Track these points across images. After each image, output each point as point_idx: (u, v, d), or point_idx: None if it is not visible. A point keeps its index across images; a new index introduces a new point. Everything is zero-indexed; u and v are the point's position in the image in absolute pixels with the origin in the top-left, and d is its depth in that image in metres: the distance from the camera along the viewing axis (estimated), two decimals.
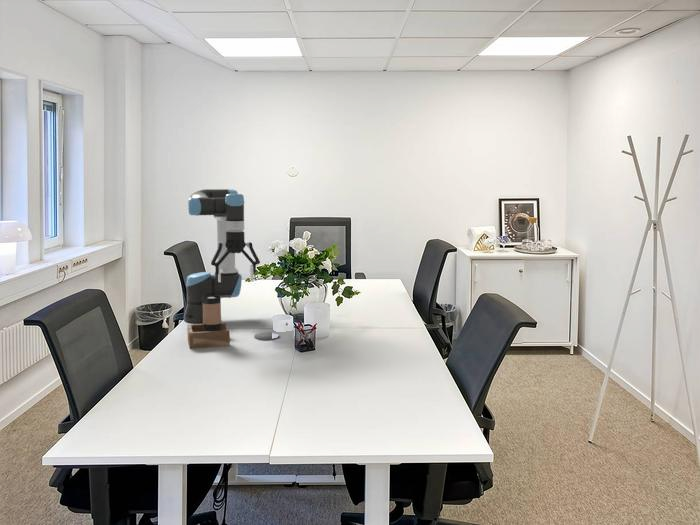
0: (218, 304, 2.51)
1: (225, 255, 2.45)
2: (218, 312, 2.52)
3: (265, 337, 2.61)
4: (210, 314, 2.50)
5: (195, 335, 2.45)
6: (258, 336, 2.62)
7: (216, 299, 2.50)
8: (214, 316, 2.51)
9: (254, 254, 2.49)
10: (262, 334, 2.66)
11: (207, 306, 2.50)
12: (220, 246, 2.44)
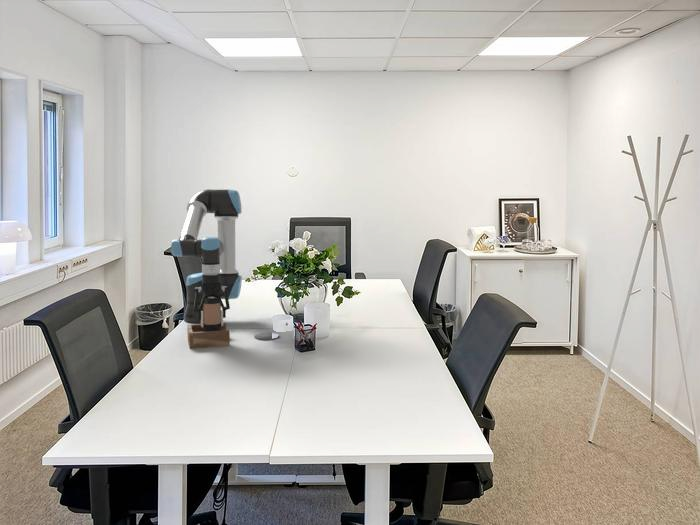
0: (218, 304, 2.51)
1: None
2: (218, 312, 2.52)
3: (265, 337, 2.61)
4: (210, 314, 2.50)
5: (195, 335, 2.45)
6: (258, 336, 2.62)
7: (216, 299, 2.50)
8: (214, 316, 2.51)
9: (226, 299, 2.54)
10: (262, 334, 2.66)
11: (207, 306, 2.50)
12: (197, 291, 2.49)
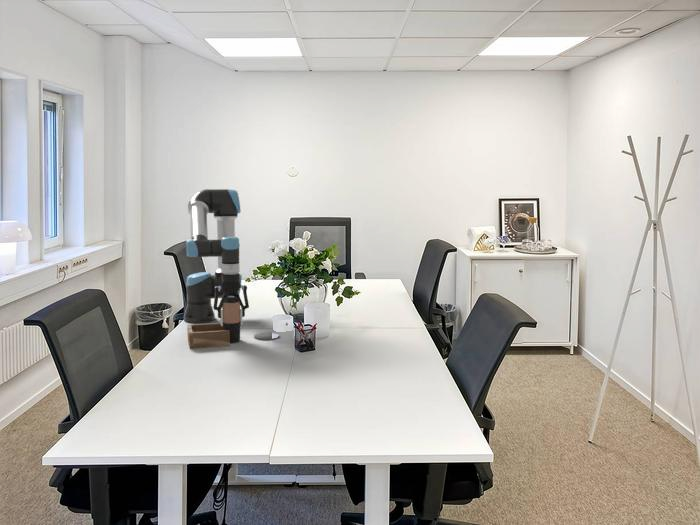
0: (237, 303, 2.54)
1: None
2: (237, 311, 2.54)
3: (265, 337, 2.61)
4: (229, 313, 2.52)
5: (195, 335, 2.45)
6: (258, 336, 2.62)
7: (235, 298, 2.53)
8: (234, 315, 2.53)
9: (246, 298, 2.56)
10: (262, 334, 2.66)
11: (226, 305, 2.52)
12: (216, 290, 2.52)
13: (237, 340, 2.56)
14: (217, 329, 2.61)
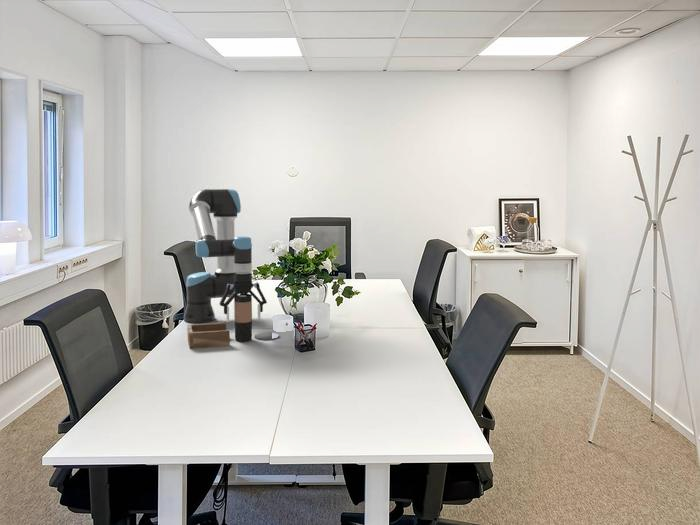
0: (249, 302, 2.55)
1: (233, 296, 2.54)
2: (249, 310, 2.56)
3: (265, 337, 2.61)
4: (241, 312, 2.54)
5: (195, 335, 2.45)
6: (258, 336, 2.62)
7: (248, 297, 2.54)
8: (246, 314, 2.55)
9: (261, 294, 2.58)
10: (262, 334, 2.66)
11: (238, 305, 2.54)
12: (228, 287, 2.53)
13: (249, 339, 2.58)
14: (217, 329, 2.61)
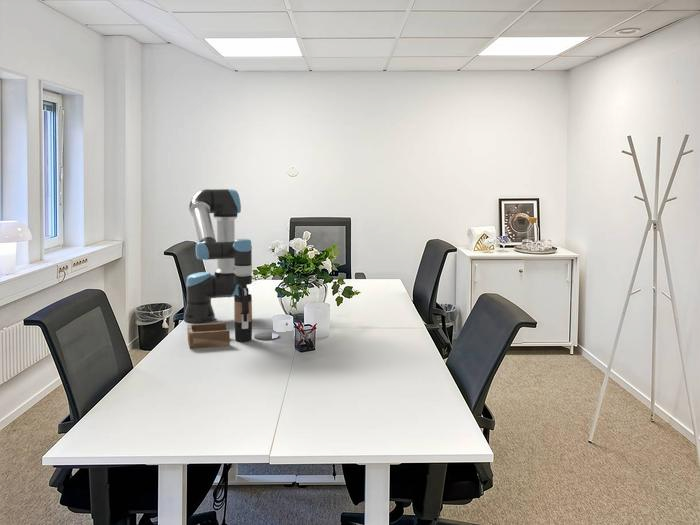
0: (249, 302, 2.55)
1: None
2: (249, 310, 2.56)
3: (265, 337, 2.61)
4: (241, 312, 2.54)
5: (195, 335, 2.45)
6: (258, 336, 2.62)
7: (248, 297, 2.54)
8: None
9: (242, 303, 2.51)
10: (262, 334, 2.66)
11: (238, 305, 2.54)
12: (238, 288, 2.62)
13: (249, 339, 2.58)
14: (217, 329, 2.61)
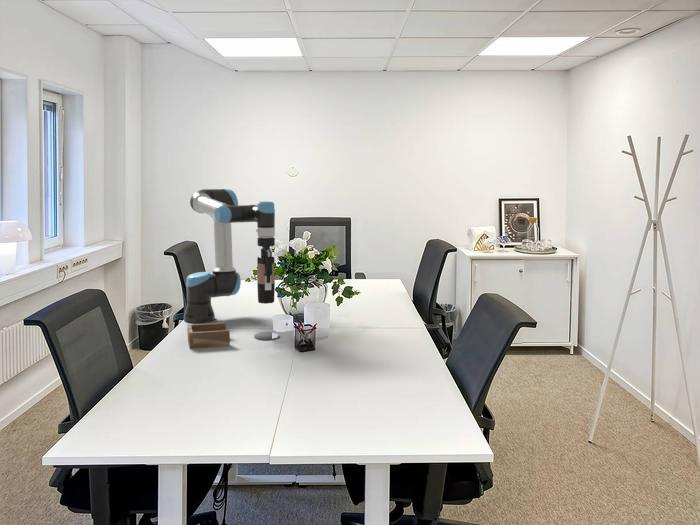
0: (272, 264, 2.58)
1: None
2: (272, 272, 2.59)
3: (265, 337, 2.61)
4: None
5: (195, 335, 2.45)
6: (258, 336, 2.62)
7: None
8: None
9: (266, 264, 2.54)
10: (262, 334, 2.66)
11: (262, 266, 2.57)
12: None
13: (272, 301, 2.60)
14: (217, 329, 2.61)
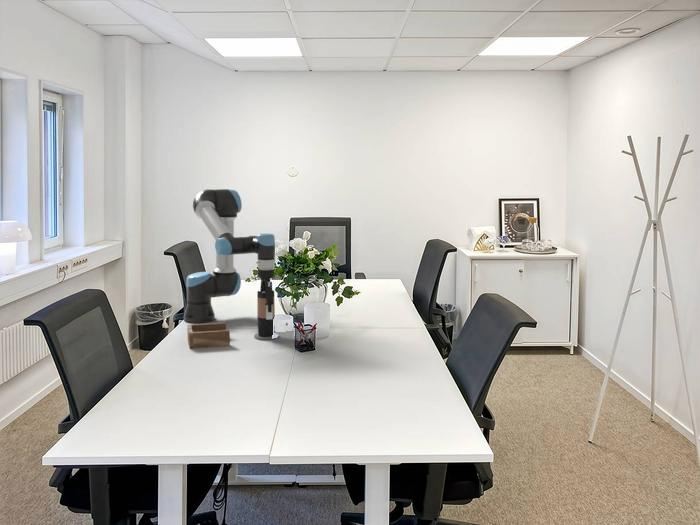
0: None
1: (262, 289, 2.66)
2: None
3: (265, 337, 2.61)
4: (265, 308, 2.59)
5: (195, 335, 2.45)
6: (258, 336, 2.62)
7: None
8: None
9: (266, 294, 2.54)
10: None
11: (262, 301, 2.59)
12: (261, 280, 2.67)
13: (272, 334, 2.63)
14: (217, 329, 2.61)
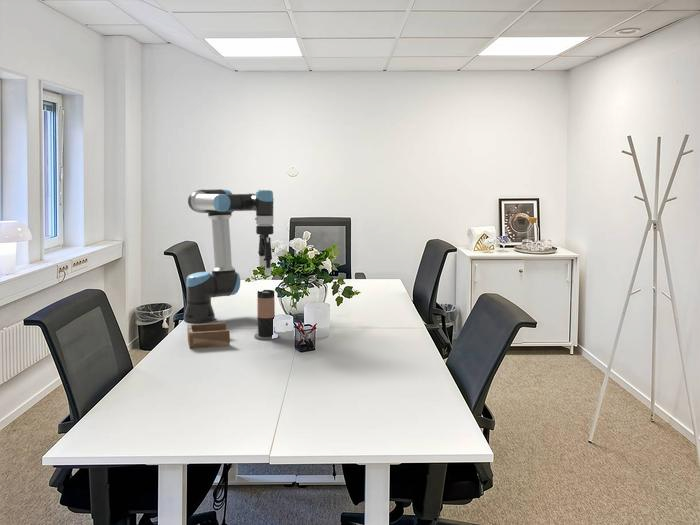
0: (272, 298, 2.61)
1: (260, 246, 2.66)
2: (272, 306, 2.61)
3: (265, 337, 2.61)
4: (265, 308, 2.59)
5: (195, 335, 2.45)
6: (258, 336, 2.62)
7: (271, 293, 2.59)
8: (269, 310, 2.60)
9: (265, 249, 2.54)
10: None
11: (262, 301, 2.59)
12: None
13: (272, 334, 2.63)
14: (217, 329, 2.61)
